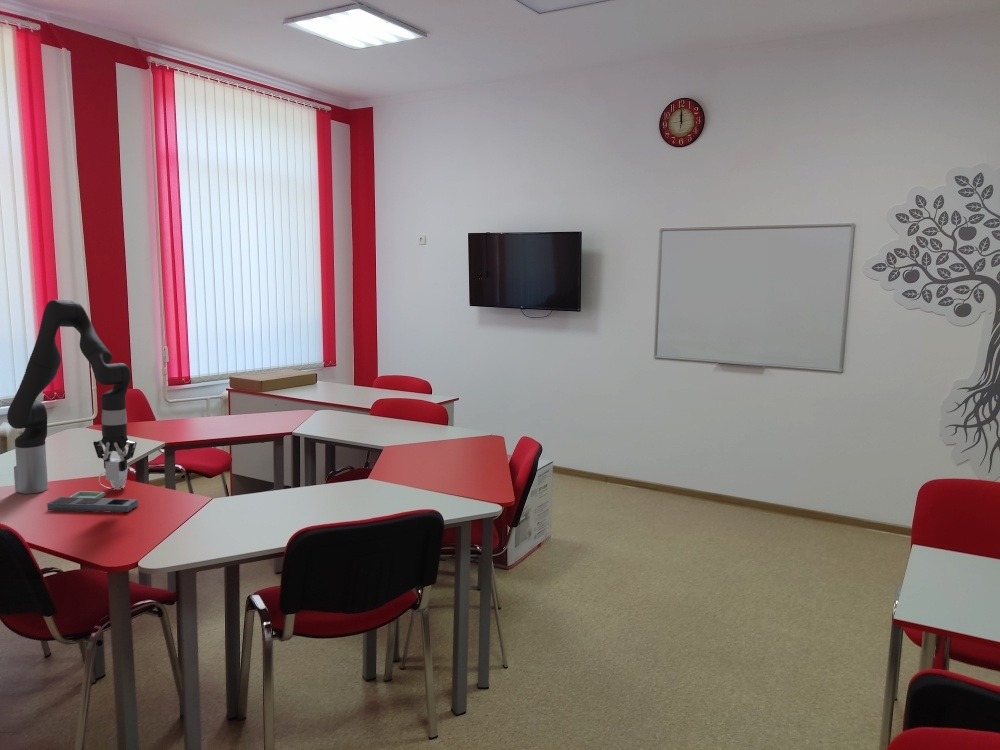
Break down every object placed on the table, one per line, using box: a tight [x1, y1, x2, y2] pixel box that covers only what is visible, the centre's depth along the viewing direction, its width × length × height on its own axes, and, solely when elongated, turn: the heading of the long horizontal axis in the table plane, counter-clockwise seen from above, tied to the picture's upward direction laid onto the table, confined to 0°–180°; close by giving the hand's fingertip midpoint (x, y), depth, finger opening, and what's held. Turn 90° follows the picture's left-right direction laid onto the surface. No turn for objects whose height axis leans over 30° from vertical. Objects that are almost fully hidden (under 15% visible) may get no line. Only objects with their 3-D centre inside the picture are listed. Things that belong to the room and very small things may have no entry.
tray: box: [69, 490, 106, 498], centre depth 248 cm, size 9×9×2 cm
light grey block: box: [104, 457, 126, 481], centre depth 238 cm, size 4×4×6 cm
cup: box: [98, 465, 129, 490], centre depth 261 cm, size 7×10×8 cm
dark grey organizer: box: [46, 496, 139, 513], centre depth 240 cm, size 27×7×3 cm, turn 91°
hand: (115, 470), depth 238 cm, fingers closed on light grey block, 4 cm apart
